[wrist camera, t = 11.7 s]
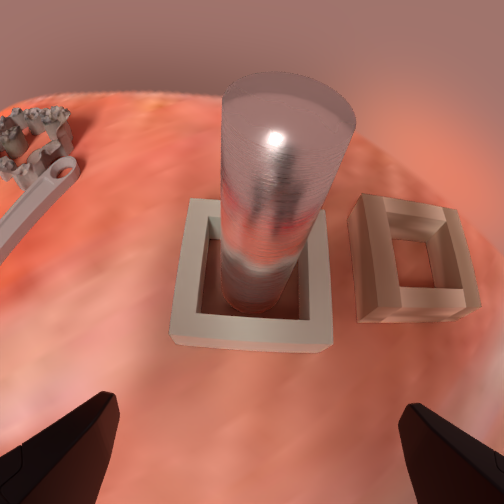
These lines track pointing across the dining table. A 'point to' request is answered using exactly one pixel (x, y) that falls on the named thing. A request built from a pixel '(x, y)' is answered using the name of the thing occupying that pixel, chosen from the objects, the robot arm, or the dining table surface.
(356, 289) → the beige square ring
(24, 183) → the grey jagged open ring
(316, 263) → the square hollow frame
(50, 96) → the dining table surface
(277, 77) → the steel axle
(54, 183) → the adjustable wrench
